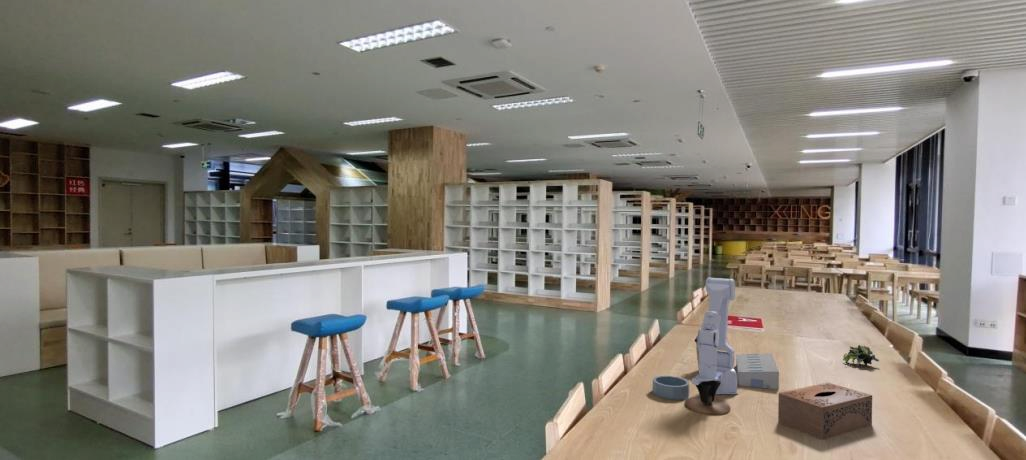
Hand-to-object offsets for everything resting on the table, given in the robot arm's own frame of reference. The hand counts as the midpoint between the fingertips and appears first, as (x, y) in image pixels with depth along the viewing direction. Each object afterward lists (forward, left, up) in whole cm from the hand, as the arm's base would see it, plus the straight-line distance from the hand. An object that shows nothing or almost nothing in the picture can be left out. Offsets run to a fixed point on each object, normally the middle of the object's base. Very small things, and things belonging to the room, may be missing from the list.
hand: (707, 401), depth 178 cm
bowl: (+8, -14, -2) cm, 16 cm away
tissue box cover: (-32, +16, -2) cm, 36 cm away
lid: (0, 0, -2) cm, 2 cm away
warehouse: (-36, -34, -3) cm, 50 cm away
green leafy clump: (-94, -49, -2) cm, 106 cm away
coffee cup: (-18, -42, -2) cm, 46 cm away
